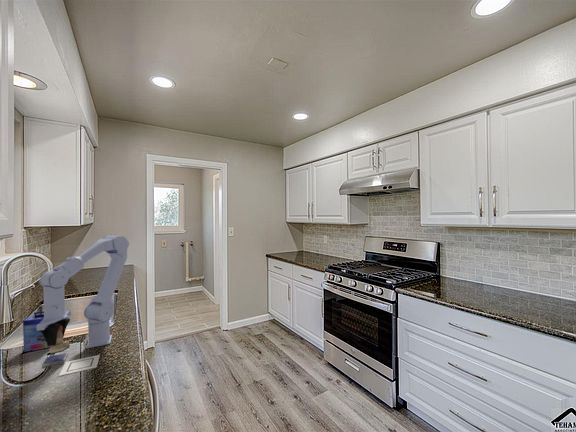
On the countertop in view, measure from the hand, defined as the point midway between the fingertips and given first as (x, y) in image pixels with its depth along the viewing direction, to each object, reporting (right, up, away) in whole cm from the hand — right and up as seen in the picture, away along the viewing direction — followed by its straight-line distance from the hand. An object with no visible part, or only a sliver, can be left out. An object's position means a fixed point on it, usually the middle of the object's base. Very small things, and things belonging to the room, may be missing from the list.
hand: (55, 342), depth 99 cm
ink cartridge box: (-15, -7, +12) cm, 21 cm away
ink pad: (0, -7, 0) cm, 7 cm away
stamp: (+2, -3, 0) cm, 3 cm away
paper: (+11, -6, -3) cm, 13 cm away
